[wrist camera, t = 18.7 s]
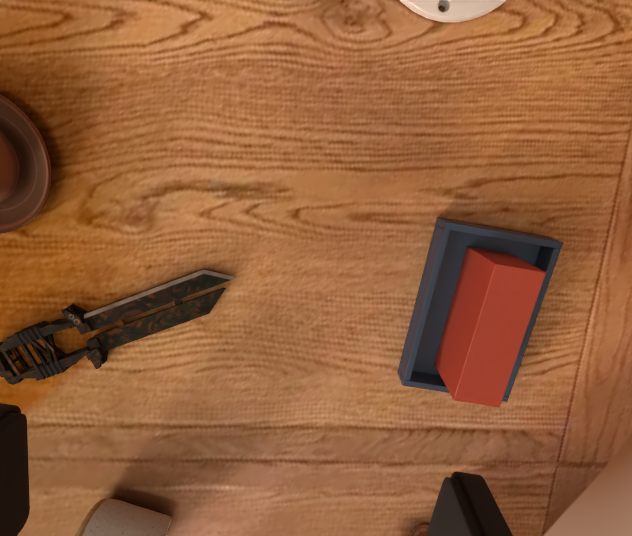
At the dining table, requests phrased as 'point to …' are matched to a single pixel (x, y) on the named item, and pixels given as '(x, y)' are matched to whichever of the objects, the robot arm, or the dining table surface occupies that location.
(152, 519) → the ceramic mug
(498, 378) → the bar
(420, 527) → the tin
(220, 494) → the dining table surface
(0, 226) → the cup and saucer
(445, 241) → the tray
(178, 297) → the knife
